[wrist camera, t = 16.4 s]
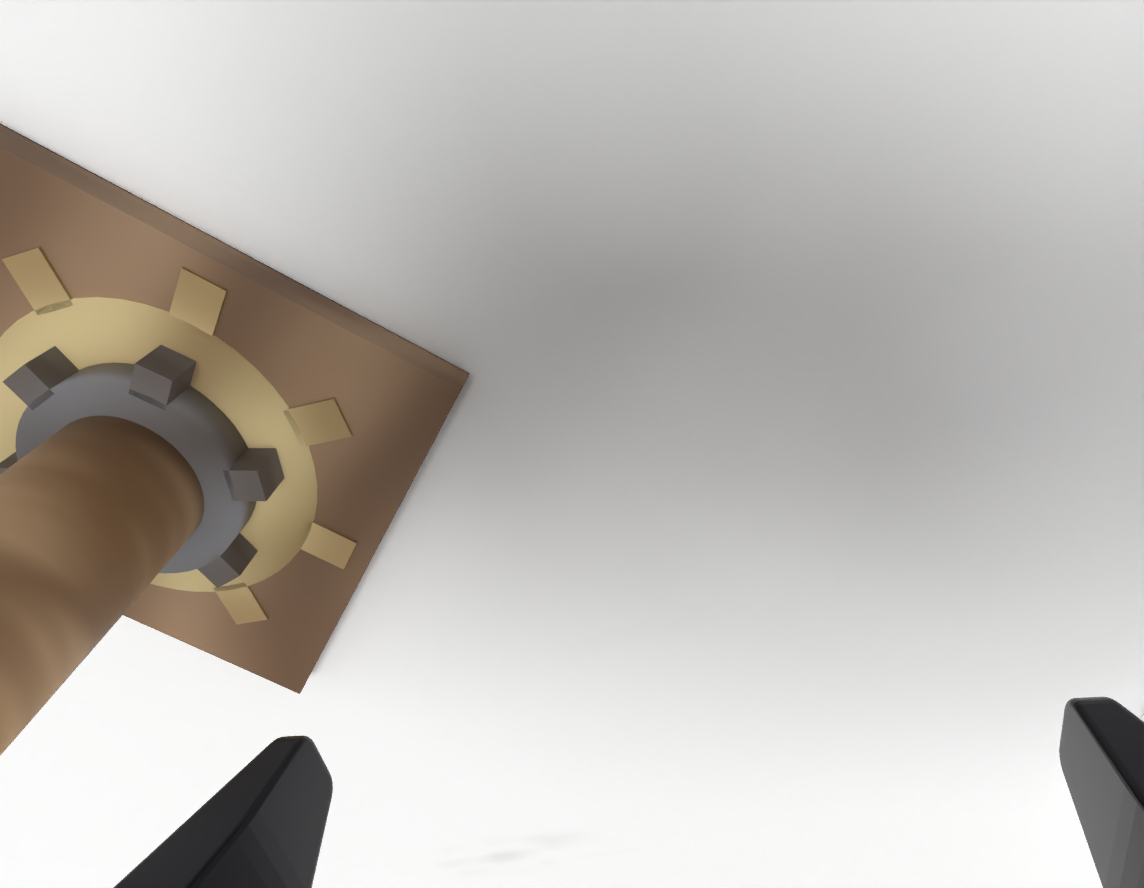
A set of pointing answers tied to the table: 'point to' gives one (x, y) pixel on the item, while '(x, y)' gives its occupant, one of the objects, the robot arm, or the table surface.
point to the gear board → (225, 394)
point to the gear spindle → (110, 508)
